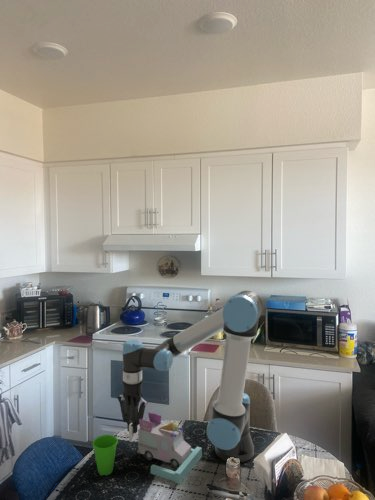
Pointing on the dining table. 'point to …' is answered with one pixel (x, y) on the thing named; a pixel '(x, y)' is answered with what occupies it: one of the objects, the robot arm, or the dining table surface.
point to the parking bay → (182, 470)
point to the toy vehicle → (162, 441)
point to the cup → (105, 453)
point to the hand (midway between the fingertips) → (132, 440)
